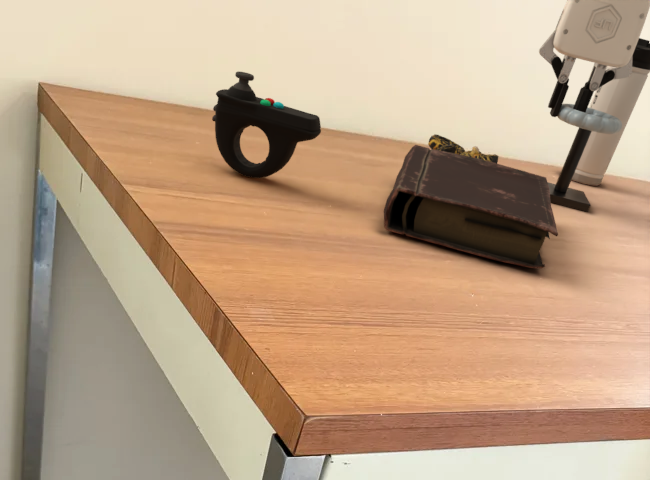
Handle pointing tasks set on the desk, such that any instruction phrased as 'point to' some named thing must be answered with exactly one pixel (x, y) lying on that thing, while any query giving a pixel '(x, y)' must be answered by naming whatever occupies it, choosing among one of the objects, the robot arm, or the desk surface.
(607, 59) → the robot arm
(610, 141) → the travel mug
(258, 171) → the controller
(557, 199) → the stand
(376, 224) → the desk surface
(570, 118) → the ring
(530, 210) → the diary
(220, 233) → the desk surface
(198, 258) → the desk surface
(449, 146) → the toy snake
